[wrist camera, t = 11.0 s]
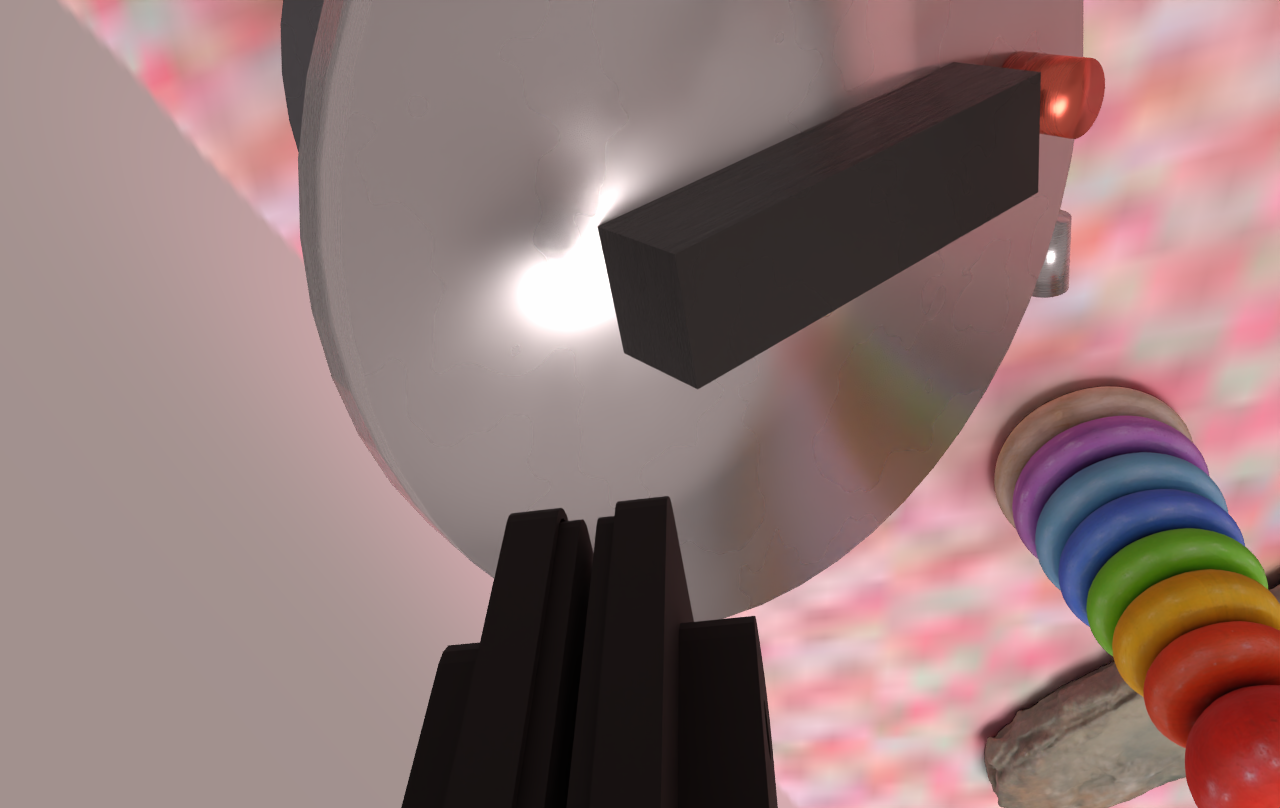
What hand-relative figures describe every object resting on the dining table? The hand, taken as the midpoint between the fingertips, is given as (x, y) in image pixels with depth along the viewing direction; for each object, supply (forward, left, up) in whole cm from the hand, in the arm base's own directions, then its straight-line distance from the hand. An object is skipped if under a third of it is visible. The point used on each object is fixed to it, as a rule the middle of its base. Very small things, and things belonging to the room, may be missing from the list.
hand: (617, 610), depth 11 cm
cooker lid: (0, +2, -12) cm, 12 cm away
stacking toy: (+21, +15, -29) cm, 39 cm away
